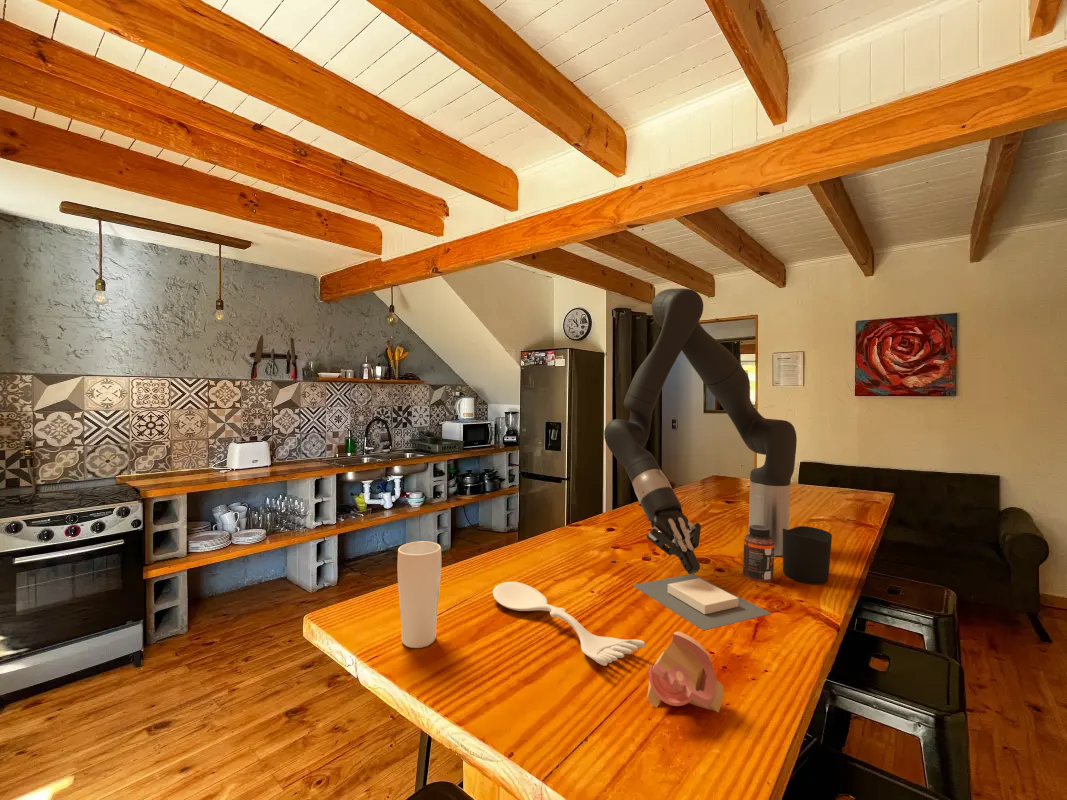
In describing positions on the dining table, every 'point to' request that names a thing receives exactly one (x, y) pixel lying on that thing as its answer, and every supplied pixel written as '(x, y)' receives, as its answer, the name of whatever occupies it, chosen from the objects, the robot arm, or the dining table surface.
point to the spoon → (591, 645)
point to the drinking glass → (419, 591)
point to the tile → (702, 595)
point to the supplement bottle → (758, 554)
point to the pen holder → (806, 554)
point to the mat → (694, 616)
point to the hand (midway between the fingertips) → (694, 571)
